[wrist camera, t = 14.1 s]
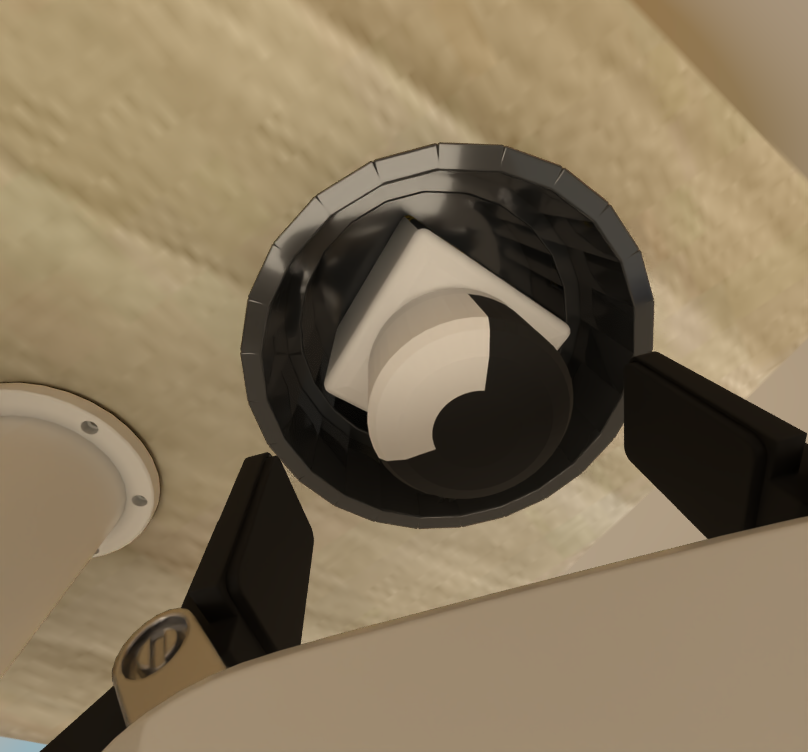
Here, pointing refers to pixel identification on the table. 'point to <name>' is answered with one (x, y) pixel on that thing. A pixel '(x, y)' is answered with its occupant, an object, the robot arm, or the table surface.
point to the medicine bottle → (451, 369)
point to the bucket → (492, 247)
